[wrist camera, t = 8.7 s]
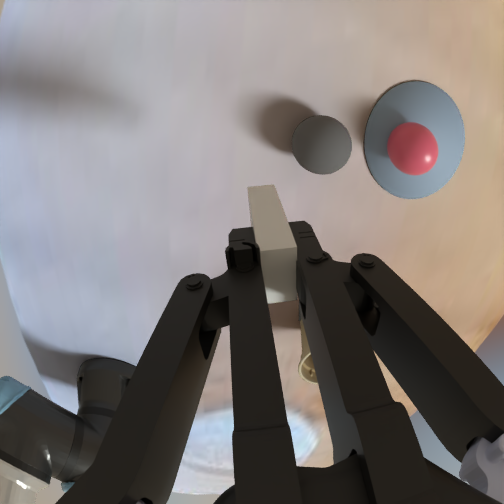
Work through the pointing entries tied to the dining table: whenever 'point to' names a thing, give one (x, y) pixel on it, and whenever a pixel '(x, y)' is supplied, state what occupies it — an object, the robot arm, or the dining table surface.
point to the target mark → (427, 114)
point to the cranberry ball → (412, 148)
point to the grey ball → (321, 144)
